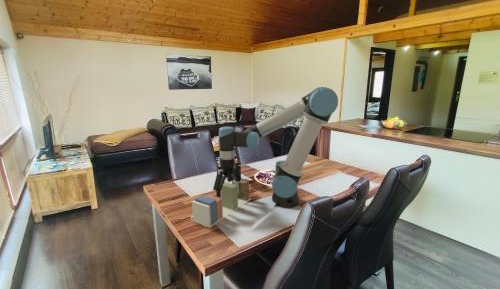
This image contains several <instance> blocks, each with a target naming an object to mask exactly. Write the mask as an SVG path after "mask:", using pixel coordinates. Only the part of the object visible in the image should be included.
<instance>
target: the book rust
mask: <svg viewBox="0 0 500 289" xmlns="http://www.w3.org/2000/svg"><path fill="white" fill-rule="evenodd" d="M205 196H206V197H209V198H213V199H216V208H217V220H219V219H220V218H222V217H223V208H222V199H221V198H218V197H217V196H215V195H211V194H208V195H205Z"/></svg>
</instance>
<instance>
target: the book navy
mask: <svg viewBox="0 0 500 289" xmlns="http://www.w3.org/2000/svg"><path fill="white" fill-rule="evenodd" d="M206 196H207V195H203V194H201V195H199V196H197V197H195V198H194V201H196V202H199V203H202V204H205V205H208V206H210V217H211V225H212V224H214V223H215V222H217V208H216V199H213V198H209V197H206Z"/></svg>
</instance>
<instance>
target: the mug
mask: <svg viewBox="0 0 500 289" xmlns="http://www.w3.org/2000/svg"><path fill="white" fill-rule="evenodd" d="M237 166H238V170H239V172H240V175H241V176H242V167H241V166H240V165H237ZM226 180H227V182H228V183H231V182H232V180H234V178H233V177H232V176H231V175H229V176H228V177H227V178H226Z"/></svg>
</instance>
